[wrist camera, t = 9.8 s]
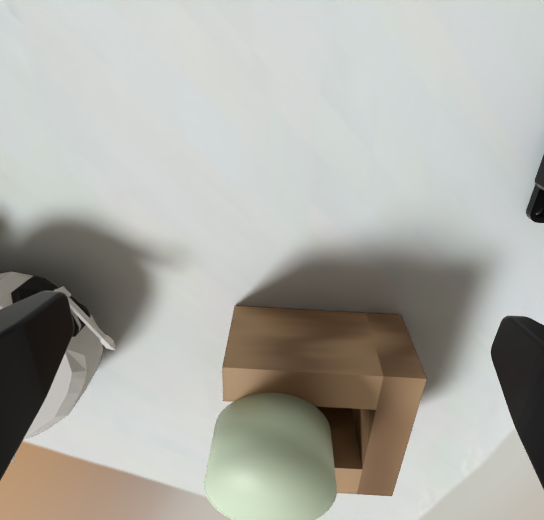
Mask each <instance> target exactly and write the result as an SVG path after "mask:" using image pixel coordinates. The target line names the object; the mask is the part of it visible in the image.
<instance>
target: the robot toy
mask: <svg viewBox="0 0 544 520" xmlns="http://www.w3.org/2000/svg"><path fill="white" fill-rule="evenodd" d="M42 291H61V292H64V293H65V294H66V295H67V297H68V301H69V305H70V309H71V313H72V318H73V322H74V332H73V336H72V338H71V341H70V343H69V345H68V348H67V350H66V352H65V355H64V357H63V360H62V362H61V364H60V367H59V369H58V371H57V374H56V376H55V378H54V381H53V383H52V386H51V388H50V390H49V392H48V394H47V397H46V399H45V401H44V403H43V404H42V406H41V408H40V410H39V412H38V414H37V416H36V417H35V419H34V421H33V423H32V425H31V426H30V428H29V430H28V432H27V433H26V435H25V437H24V439H26V438H30V437H33V436H35V435H37V434H39V433H41V432H44V431H46V430H47V429H49V428H50V427H52V426H53V425H54V424H56V423H57V422H59V421H60V420H62V419H63V418H64V417H66V416H67V415H68V414H69V413H70V411H71V410H72V409H73V407H74V406H75V404H76V403H77V401H78V400H79V398H80V397H81V396H82V394H83V393H84V391H85V390H86V388H87V386H88V384H89V383H90V381H91V379H92V377H93V376H94V374H95V372H96V370H97V368H98V365H99V363H100V360H101V357H102V352H103V345H104V346H105V347H106V348H107V349H111V350H115V351H116V348H115V342H114V341H113V340H112V339H111V338H110V337H109V336H108V335H107V336H106V335H105V334H104V333H103V332H102V330H101V329H100V328H99V327H98V326H97V324H96V322H95V320H94V318H93V316H92V315H91V314H90V313H89V312H88V310H87V308H86V307H85V306H83V305H82V304H80V303H79V302H78V301H77V300H75V299H74V298H72V297H71V294H70V293H69V292H68V291H67V290H66V289H65V288H64V286H62V287H60V288H58V287H57V286H55V285H54V284H52V283H50V282H49V281H48V280H46V279H44V278H41V277H38V276H32V275H27V274H22V273H17V272H6V273H1V274H0V309H2V308H5V307H7V306H9V305H11V304H14V303H16V302H18V301H21V300H23V299H25V298H28V297H30V296H32V295H35V294H37V293H39V292H42ZM11 461H12V462H15V456H14V457H13V459H12V460H11Z"/></svg>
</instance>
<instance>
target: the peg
mask: <svg viewBox="0 0 544 520" xmlns="http://www.w3.org/2000/svg"><path fill="white" fill-rule="evenodd" d="M204 489H205V493H206V496H207V498H208V500H209V501H210V503H211V504H212V505H213V506H214V507H215V508H216V509H217V510H218V511H219V512H221V513H222V514H223V515H225V516H226V517H228V518H230V519H232V520H315V519H317V518H319V517H320V516H322V515H323V514H324V513H325V512H327V511H328V510H329V508H330V507H331V506H332V504H333V503H334V501H335V498H336V494H337V486H336V477H335V467H334V458H333V448H332V438H331V430H330V425H329V422H328V421H327V419H326V417H325V416H324V414H323V413H322V412H321V411H320V410H319V409H318V408H317V407H315V406H314V405H312V404H311V403H309V402H307V401H306V400H303V399H301V398H298V397H295V396H292V395H288V394H282V393H258V394H253V395H249V396H246V397H243V398H240V399H238V400H236V401H234V402H232V403H231V404H229V405H228V406H227V407H226V408H225V409H224V410H223V411H222V412H221V413H220V415H219V416H218V418H217V421H216V424H215V429H214V434H213V439H212V444H211V450H210V455H209V460H208V465H207V471H206V476H205V481H204Z"/></svg>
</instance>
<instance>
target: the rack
mask: <svg viewBox="0 0 544 520" xmlns="http://www.w3.org/2000/svg"><path fill="white" fill-rule="evenodd" d="M222 374H223V401H231V402H234V401H236V400H238V399H240V398H243V397H246V396H249V395H253V394H258V393H282V394H288V395H292V396H295V397H298V398H301V399H303V400H306V401H307V402H309V403H311V404H312V405H314V406H315V407H317V408H318V409H319V410H320V411H321V412H322V413H323V414H324V416H325V417H326V419H327V421H328V422H329V425H330V430H331V438H332V448H333V458H334V467H335V477H336V486H337V493H347V494H364V495H381V496H392V495H393V491H394V488H395V485H396V481H397V478H398V475H399V471H400V468H401V464H402V461H403V458H404V454H405V451H406V448H407V444H408V441H409V437H410V434H411V431H412V427H413V424H414V421H415V417H416V414H417V410H418V407H419V404H420V400H421V397H422V394H423V390H424V387H425V383H426V380H427V378H426V375H425V373H424V370H423V368H422V365H421V363H420V361H419V358H418V356H417V353H416V351H415V348H414V346H413V343H412V341H411V338H410V336H409V333H408V331H407V328H406V326H405V323H404V321H403V318H402V316H401V315H396V314H378V313H359V312H341V311H322V310H304V309H285V308H267V307H248V306H235V307H234V312H233V317H232V322H231V327H230V332H229V337H228V342H227V347H226V352H225V357H224V362H223V367H222Z"/></svg>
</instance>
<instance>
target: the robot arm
mask: <svg viewBox="0 0 544 520" xmlns="http://www.w3.org/2000/svg"><path fill="white" fill-rule="evenodd" d="M535 183H536V184H535V187H534V190H533V193H532V196H531V198H530V201H529V204H528V207H527V210H526V214H527V217H529V218H530V219H531V220H532V221H534V222H537V223H544V156H543V158H542V161H541V164H540V167H539V170H538V172H537V175H536V178H535ZM540 208H542V211H541V213H539V214H537V215H536V212H537V210H539V209H540ZM73 332H74V322H73V318H72V313H71V309H70V305H69V301H68V297H67V295H66V294H65V293H64V292H61V291H42V292H39V293H37V294H35V295H32V296H30V297H28V298H25V299H23V300H21V301H18V302H16V303H14V304H11V305H9V306H7V307H5V308H2V309H0V480H1V478H2V476H3V475H4V473H5V471H6V469H7V467H8V466H9V464H10V462H11V460H12V459H13V457H14V455H15V453H16V451H17V449H18V448H19V446H20V444H21V442H22V441H23V439H24V437H25V435H26V433H27V432H28V430H29V428H30V426H31V425H32V423H33V421H34V419H35V417H36V416H37V414H38V412H39V410H40V408H41V406H42V404H43V403H44V401H45V399H46V397H47V394H48V392H49V390H50V388H51V386H52V383H53V381H54V378H55V376H56V374H57V371H58V369H59V367H60V364H61V362H62V360H63V357H64V355H65V352H66V350H67V348H68V345H69V343H70V341H71V338H72V336H73ZM491 357H492V361H493V364H494V367H495V370H496V373H497V376H498V379H499V382H500V385H501V388H502V391H503V394H504V397H505V400H506V403H507V406H508V409H509V411H510V414H511V417H512V420H513V422H514V425H515V428H516V430H517V432H518V435H519V437H520V439H521V441H522V443H523V446H524V448H525V450H526V452H527V454H528V456H529V459H530V461H531V463H532V465H533V467H534V469H535V472H536V474H537V476H538V478H539V480H540V482H541V485H542V487H543V489H544V325H542V324H540V323H538V322H536V321H534V320H532V319H531V318H528V317H525V316H506V317H504V318H503V319H502V321H501V323H500V326H499V329H498V331H497V334H496V336H495V339H494V342H493V344H492V348H491Z"/></svg>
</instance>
